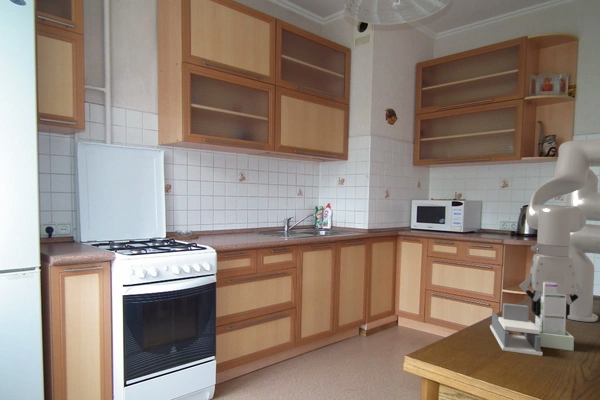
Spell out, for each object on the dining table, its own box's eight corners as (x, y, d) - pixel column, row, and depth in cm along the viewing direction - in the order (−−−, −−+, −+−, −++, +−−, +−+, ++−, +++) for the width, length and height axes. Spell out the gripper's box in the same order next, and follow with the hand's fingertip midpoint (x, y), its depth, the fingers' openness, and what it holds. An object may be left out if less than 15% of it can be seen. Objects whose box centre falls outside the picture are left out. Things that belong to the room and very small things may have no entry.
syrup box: (566, 336, 102) (568, 283, 101) (541, 334, 103) (544, 281, 103) (556, 329, 107) (558, 278, 107) (533, 327, 109) (535, 276, 108)
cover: (498, 320, 107) (499, 302, 107) (530, 324, 105) (531, 306, 104) (504, 329, 99) (505, 310, 99) (539, 334, 97) (540, 314, 97)
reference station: (490, 327, 116) (490, 312, 115) (523, 331, 113) (524, 316, 113) (502, 350, 98) (503, 332, 98) (542, 355, 96) (543, 337, 96)
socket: (526, 334, 111) (526, 322, 111) (561, 338, 108) (561, 326, 108) (535, 345, 102) (535, 332, 102) (573, 350, 100) (574, 337, 100)
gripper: (521, 250, 104) (518, 316, 104) (595, 255, 99) (592, 324, 99) (514, 247, 111) (511, 308, 111) (583, 251, 106) (580, 315, 106)
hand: (549, 315), depth 105 cm, fingers closed on syrup box, 6 cm apart
